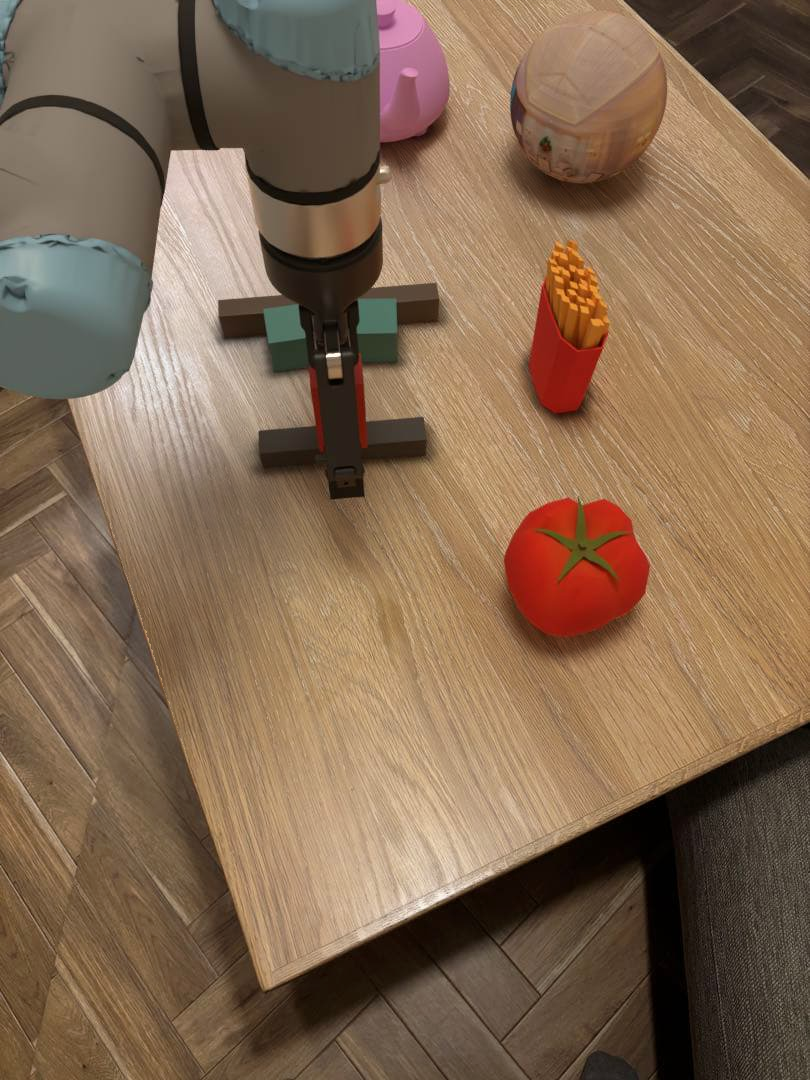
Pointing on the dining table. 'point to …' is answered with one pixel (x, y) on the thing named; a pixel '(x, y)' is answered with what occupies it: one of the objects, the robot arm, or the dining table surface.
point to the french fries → (567, 331)
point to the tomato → (575, 566)
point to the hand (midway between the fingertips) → (340, 423)
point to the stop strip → (249, 321)
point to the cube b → (377, 330)
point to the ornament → (588, 96)
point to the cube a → (286, 338)
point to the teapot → (409, 72)
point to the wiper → (374, 435)
